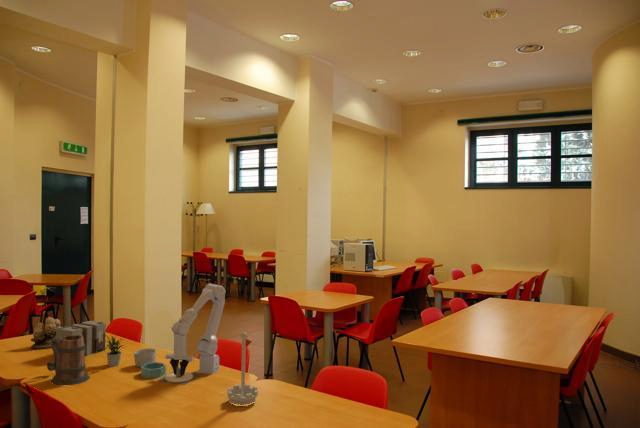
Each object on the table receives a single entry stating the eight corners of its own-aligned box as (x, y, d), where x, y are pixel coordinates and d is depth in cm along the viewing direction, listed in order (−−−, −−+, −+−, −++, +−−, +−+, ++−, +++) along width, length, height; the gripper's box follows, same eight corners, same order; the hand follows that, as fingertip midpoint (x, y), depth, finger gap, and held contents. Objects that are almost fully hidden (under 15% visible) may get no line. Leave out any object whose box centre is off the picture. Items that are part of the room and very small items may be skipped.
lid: (198, 375, 243) (198, 365, 243) (183, 383, 230) (183, 373, 230) (174, 372, 246) (175, 362, 246) (159, 380, 234) (159, 370, 234)
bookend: (108, 350, 283) (109, 322, 283) (71, 361, 260) (71, 331, 260) (89, 346, 289) (89, 319, 289) (50, 357, 266) (51, 327, 266)
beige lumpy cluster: (58, 341, 298) (59, 313, 298) (68, 345, 292) (69, 316, 291) (26, 347, 283) (27, 317, 283) (36, 351, 277) (37, 321, 277)
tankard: (97, 377, 237) (98, 335, 237) (67, 388, 222) (68, 344, 222) (64, 369, 247) (65, 329, 247) (32, 379, 232) (33, 337, 231)
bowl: (169, 372, 246) (169, 363, 246) (156, 379, 236) (156, 370, 236) (150, 370, 249) (150, 361, 249) (136, 377, 239) (136, 367, 239)
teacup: (148, 370, 249) (148, 354, 249) (129, 368, 252) (129, 352, 252) (162, 362, 263) (163, 347, 263) (144, 360, 265) (144, 345, 265)
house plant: (90, 366, 253) (90, 334, 253) (110, 359, 265) (111, 329, 265) (111, 370, 247) (112, 338, 247) (131, 363, 260) (132, 332, 260)
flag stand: (244, 410, 203) (245, 337, 202) (220, 403, 209) (222, 332, 209) (263, 400, 214) (265, 331, 214) (241, 394, 221) (242, 327, 220)
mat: (200, 375, 243) (200, 374, 243) (184, 385, 229) (184, 384, 229) (174, 372, 248) (174, 371, 248) (156, 381, 233) (156, 380, 233)
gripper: (162, 347, 236) (161, 375, 236) (188, 350, 232) (188, 379, 232) (170, 343, 243) (169, 371, 243) (196, 346, 239) (195, 374, 239)
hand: (179, 374), depth 238 cm, fingers closed on lid, 3 cm apart
